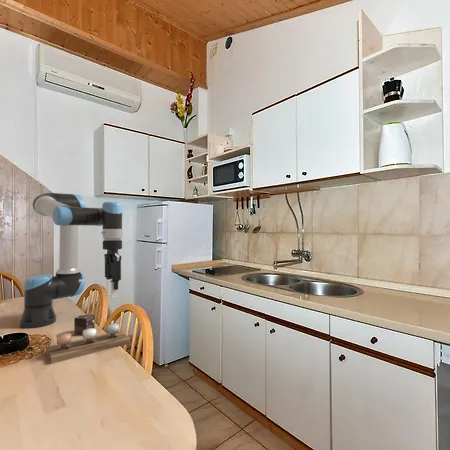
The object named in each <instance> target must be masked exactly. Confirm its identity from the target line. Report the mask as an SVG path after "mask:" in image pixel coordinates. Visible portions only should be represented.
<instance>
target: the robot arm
mask: <svg viewBox="0 0 450 450" xmlns="http://www.w3.org/2000/svg"><path fill="white" fill-rule="evenodd" d="M122 205H123V204H122V203H121V202H119V201H103V203H102V206H101V207H87V204H86V201H85V199H84V198H83V196H81V195H80V194H73V193H61V192H60V193H59V192H58V193H57V192H45V193H42V194H41V193H40V194H39V195H37V196H36V197H35V198H34V199H33V201H32V209H33V210H34V211H35V213H37V214H38V215H40V216H42V217H49V218H52V221H53V223H54V225H56V226H59V255H58V257H59V259H58V260H59V261H58V262H59V264H58V267H59V268H58V269H57V270H56V271H55V275H54V276H53V275H52V273H45V274H43V273H42V274H37V275H33V276H30V277H28V278H26V279H25V281H24V285H23V286H24V287H23V292H24V293H23V296H24V297H23V300H24V301H23V304H24V305H23V307H24V308H23V311H22V315H21V318H20V320H19V326H20V327H21V328H25V329H34V328H40V327H45V326H46V327H47V326H49V325H52V324H54V323H56V321H57V315H56V312H55V310H54V307H53V300H58V299H64V298H72V297H77V296H79V295H81V294H82V293H83V291H84V289H85V286H86V285H85V284H86V279H85V275H84V274H83V273H81V272H82V271H81V270H80V269H79V268H78V265H79V264H78V254H79V250H78V249H79V226H97V227H102V231H101V232H100V233H101V235H102V240H103V241H102V249H103V250H105V251H106V253H104V255H103V256H104V278H105V279H106V296H107V297H108V296H111V299H116V298H119V296H120V294H119V293H120V289H119V288H120V285H119V284H120V283H119V282H120V281H122V255H120V253H119V250H122V248H123V240H122V239H123V208H122V207H123V206H122Z"/></svg>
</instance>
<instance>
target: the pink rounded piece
mask: <svg viewBox="0 0 450 450" xmlns="http://www.w3.org/2000/svg"><path fill="white" fill-rule="evenodd" d="M71 341H72V333H70V332H66V333H65V332H64V333H59V334H57V335H56V345H57V344H61V348H66V347H67V343H69V342H71Z"/></svg>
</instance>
